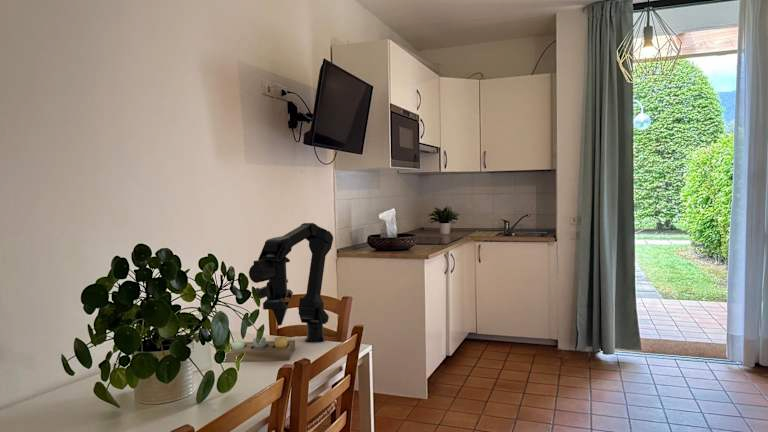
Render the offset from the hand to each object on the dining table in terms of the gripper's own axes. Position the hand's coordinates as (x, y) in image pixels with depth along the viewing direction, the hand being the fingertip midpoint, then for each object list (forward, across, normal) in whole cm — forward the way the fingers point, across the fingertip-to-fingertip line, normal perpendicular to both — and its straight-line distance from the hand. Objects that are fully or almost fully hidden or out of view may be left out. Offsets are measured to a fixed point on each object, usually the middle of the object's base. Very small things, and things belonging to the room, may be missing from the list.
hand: (279, 325), depth 174 cm
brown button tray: (+10, 0, -7) cm, 12 cm away
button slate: (+8, 0, -7) cm, 11 cm away
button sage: (+9, 0, -14) cm, 17 cm away
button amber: (+8, 0, 0) cm, 8 cm away
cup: (+10, +10, -24) cm, 28 cm away
